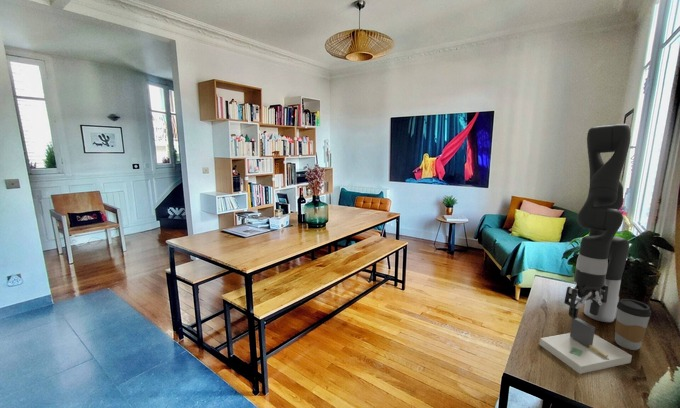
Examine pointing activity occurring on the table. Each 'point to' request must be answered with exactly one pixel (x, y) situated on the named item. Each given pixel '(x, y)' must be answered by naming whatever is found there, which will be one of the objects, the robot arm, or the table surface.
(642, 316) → the coffee cup
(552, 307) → the table surface
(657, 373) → the table surface
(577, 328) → the dark gray beam
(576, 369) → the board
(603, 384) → the table surface
